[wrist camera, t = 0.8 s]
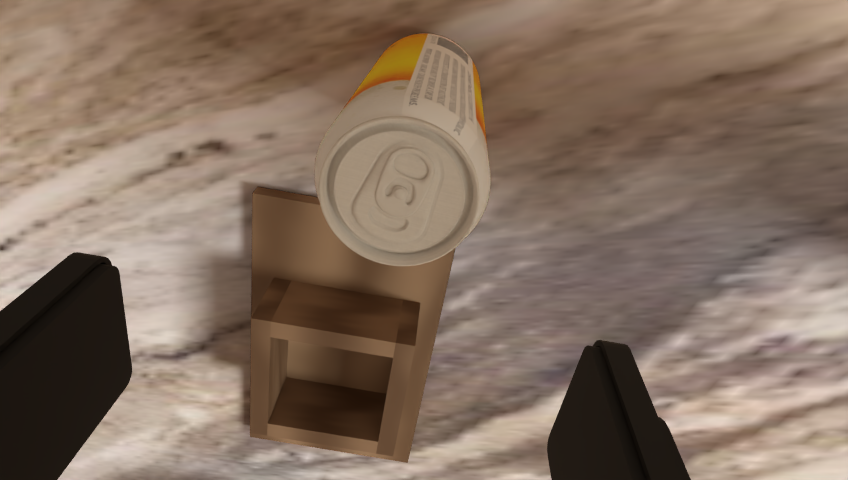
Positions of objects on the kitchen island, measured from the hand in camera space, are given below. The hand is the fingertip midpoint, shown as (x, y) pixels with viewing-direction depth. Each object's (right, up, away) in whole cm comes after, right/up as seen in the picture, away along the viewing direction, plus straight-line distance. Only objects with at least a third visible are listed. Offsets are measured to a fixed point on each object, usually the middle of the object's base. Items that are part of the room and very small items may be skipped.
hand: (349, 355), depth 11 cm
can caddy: (-4, -5, +29) cm, 30 cm away
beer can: (+2, +11, +20) cm, 23 cm away
